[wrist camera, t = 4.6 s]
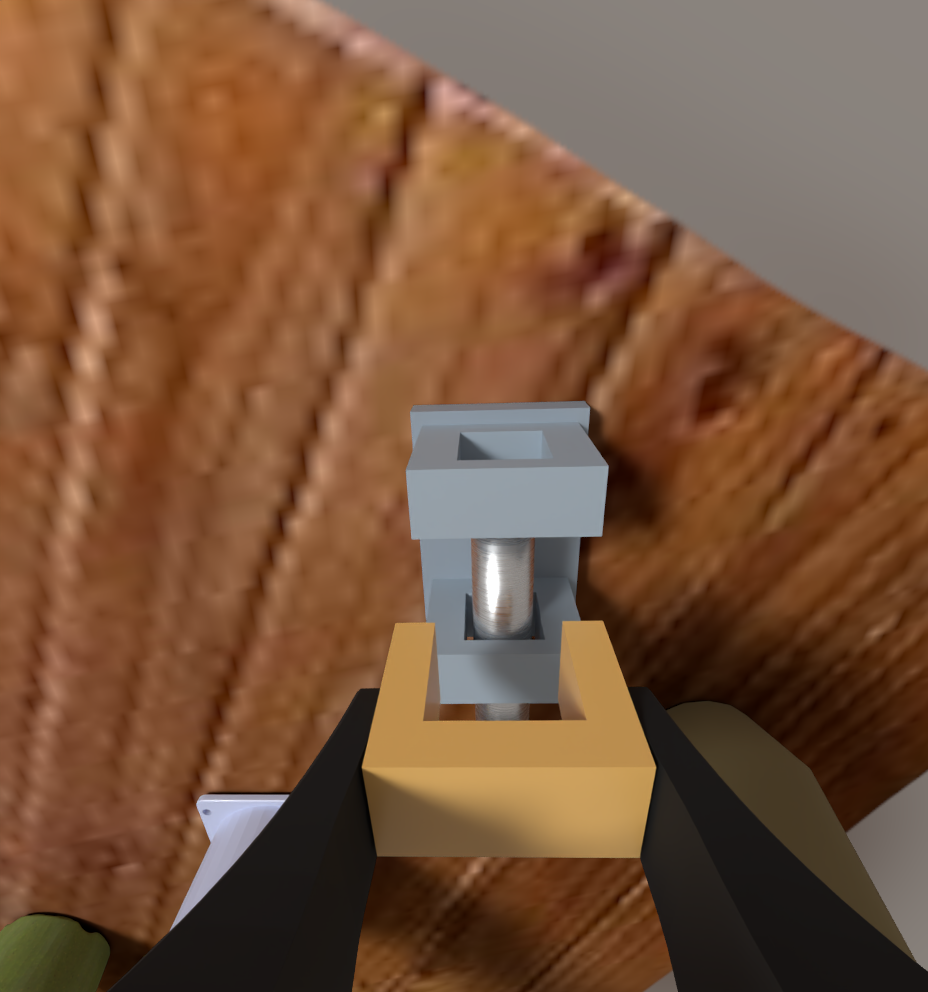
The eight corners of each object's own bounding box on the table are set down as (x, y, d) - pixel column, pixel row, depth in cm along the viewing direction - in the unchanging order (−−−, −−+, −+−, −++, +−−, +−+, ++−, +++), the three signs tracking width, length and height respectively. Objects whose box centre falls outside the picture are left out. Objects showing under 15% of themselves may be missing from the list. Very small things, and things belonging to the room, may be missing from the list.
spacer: (594, 698, 13) (639, 857, 10) (404, 699, 13) (376, 856, 10) (602, 620, 12) (656, 767, 9) (395, 622, 12) (361, 767, 9)
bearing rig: (569, 618, 22) (595, 717, 17) (429, 619, 23) (415, 718, 18) (584, 401, 18) (625, 448, 13) (413, 405, 18) (389, 453, 13)
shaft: (536, 735, 23) (546, 806, 20) (464, 735, 23) (462, 805, 20) (546, 491, 18) (561, 536, 15) (454, 493, 18) (449, 537, 15)
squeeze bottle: (783, 772, 26) (1300, 1609, 10) (632, 804, 28) (864, 1588, 11) (764, 662, 23) (1469, 1606, 7) (596, 703, 24) (841, 1575, 8)
